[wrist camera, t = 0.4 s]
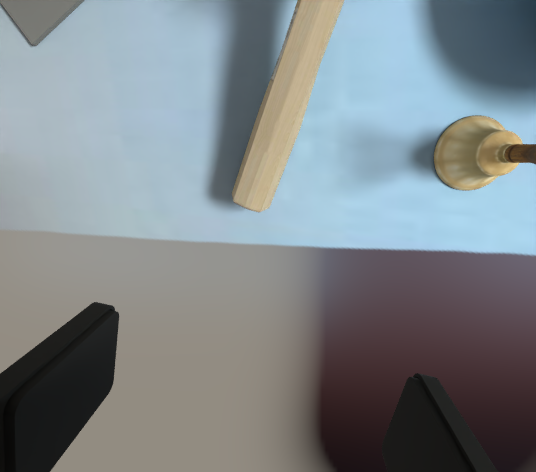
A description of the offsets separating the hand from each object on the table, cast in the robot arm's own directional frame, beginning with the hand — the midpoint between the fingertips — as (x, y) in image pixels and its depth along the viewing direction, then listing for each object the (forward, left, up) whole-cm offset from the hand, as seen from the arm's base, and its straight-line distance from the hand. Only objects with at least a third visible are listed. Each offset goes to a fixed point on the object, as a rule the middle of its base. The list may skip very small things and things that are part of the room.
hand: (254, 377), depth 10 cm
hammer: (-10, -11, -31) cm, 34 cm away
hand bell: (-22, +7, -31) cm, 38 cm away
